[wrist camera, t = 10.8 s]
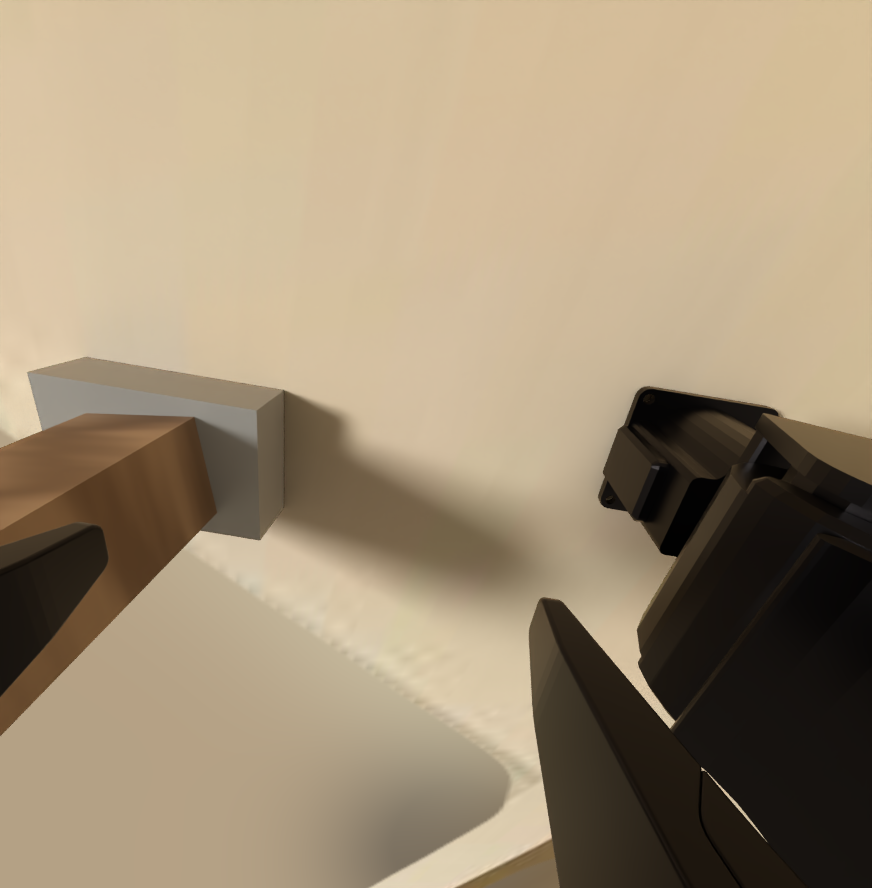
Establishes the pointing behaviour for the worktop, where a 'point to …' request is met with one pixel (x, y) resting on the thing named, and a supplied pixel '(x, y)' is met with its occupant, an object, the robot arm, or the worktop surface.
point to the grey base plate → (217, 419)
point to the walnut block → (103, 516)
